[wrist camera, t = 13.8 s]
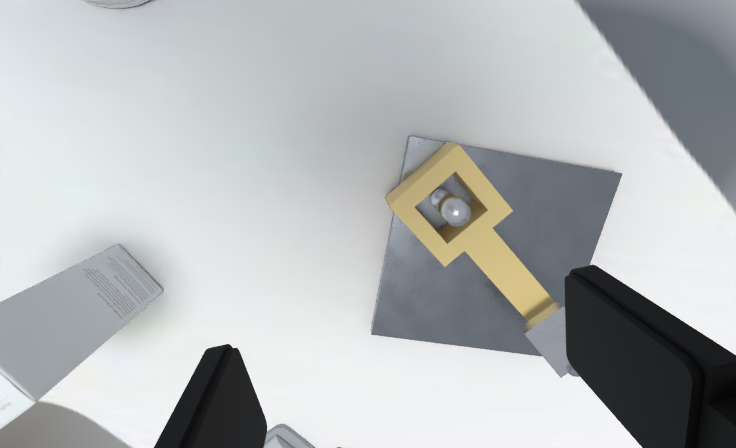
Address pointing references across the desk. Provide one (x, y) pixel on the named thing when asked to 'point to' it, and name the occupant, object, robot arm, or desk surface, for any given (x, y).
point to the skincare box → (65, 324)
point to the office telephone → (285, 438)
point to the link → (469, 227)
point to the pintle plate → (519, 232)
